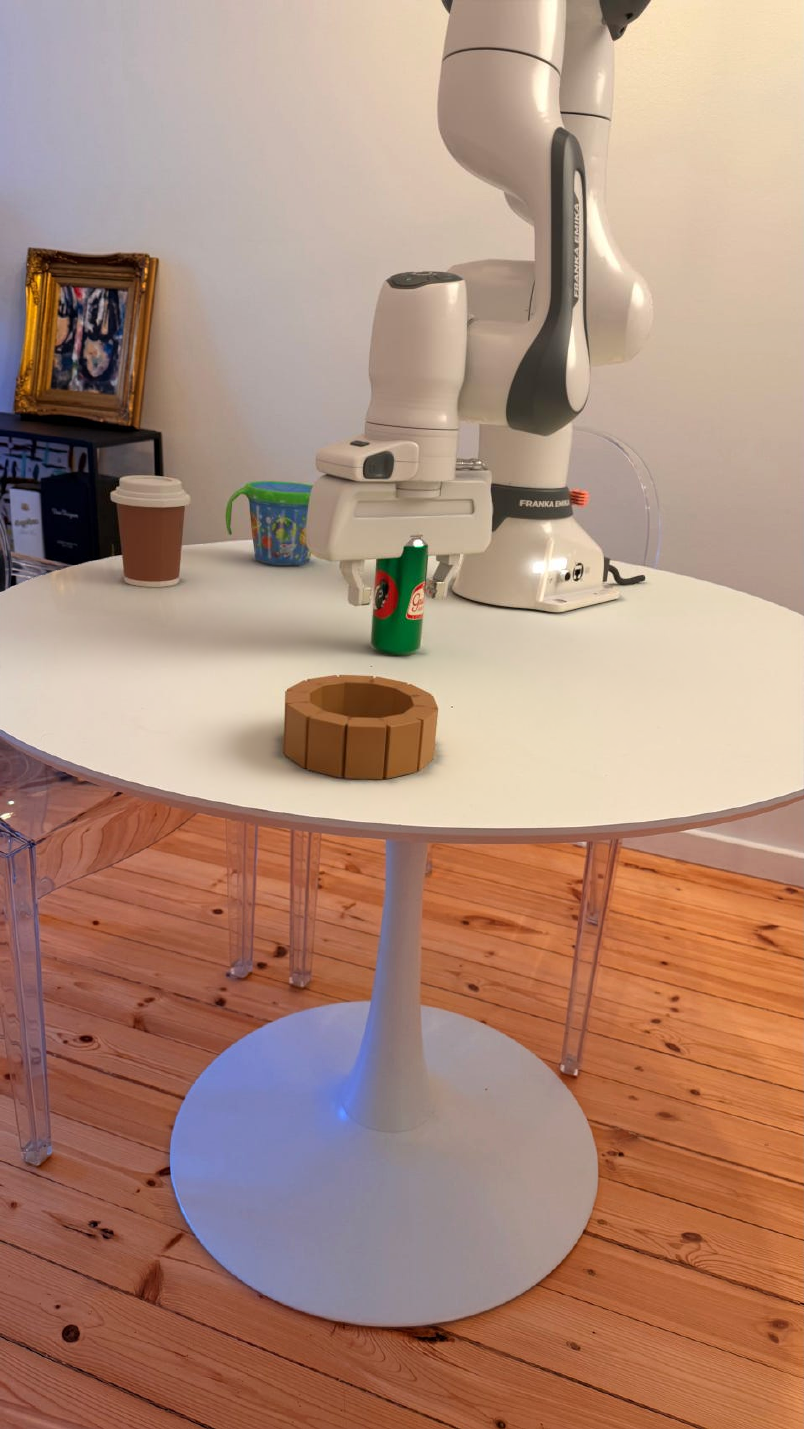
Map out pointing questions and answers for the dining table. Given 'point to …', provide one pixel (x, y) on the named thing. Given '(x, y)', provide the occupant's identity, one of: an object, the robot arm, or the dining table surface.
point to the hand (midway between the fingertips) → (398, 601)
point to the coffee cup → (150, 528)
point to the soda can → (400, 600)
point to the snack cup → (277, 520)
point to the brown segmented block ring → (359, 726)
